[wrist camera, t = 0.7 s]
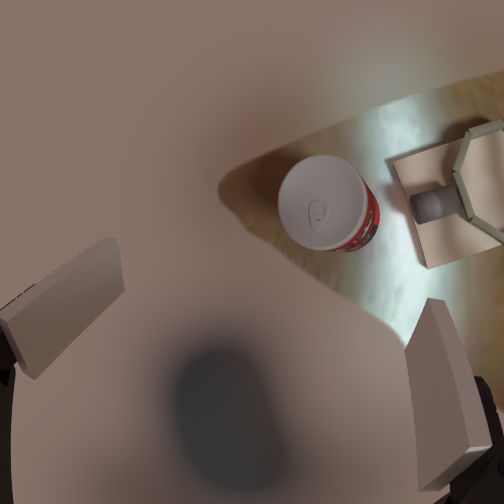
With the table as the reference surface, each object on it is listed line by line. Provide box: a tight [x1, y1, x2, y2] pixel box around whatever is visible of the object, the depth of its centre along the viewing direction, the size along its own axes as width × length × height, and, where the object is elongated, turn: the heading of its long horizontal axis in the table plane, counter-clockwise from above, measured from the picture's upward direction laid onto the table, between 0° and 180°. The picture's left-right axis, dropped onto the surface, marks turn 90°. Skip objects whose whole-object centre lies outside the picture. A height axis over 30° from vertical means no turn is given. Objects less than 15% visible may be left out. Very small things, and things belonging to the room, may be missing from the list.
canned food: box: [278, 154, 380, 252], centre depth 29 cm, size 8×8×11 cm
